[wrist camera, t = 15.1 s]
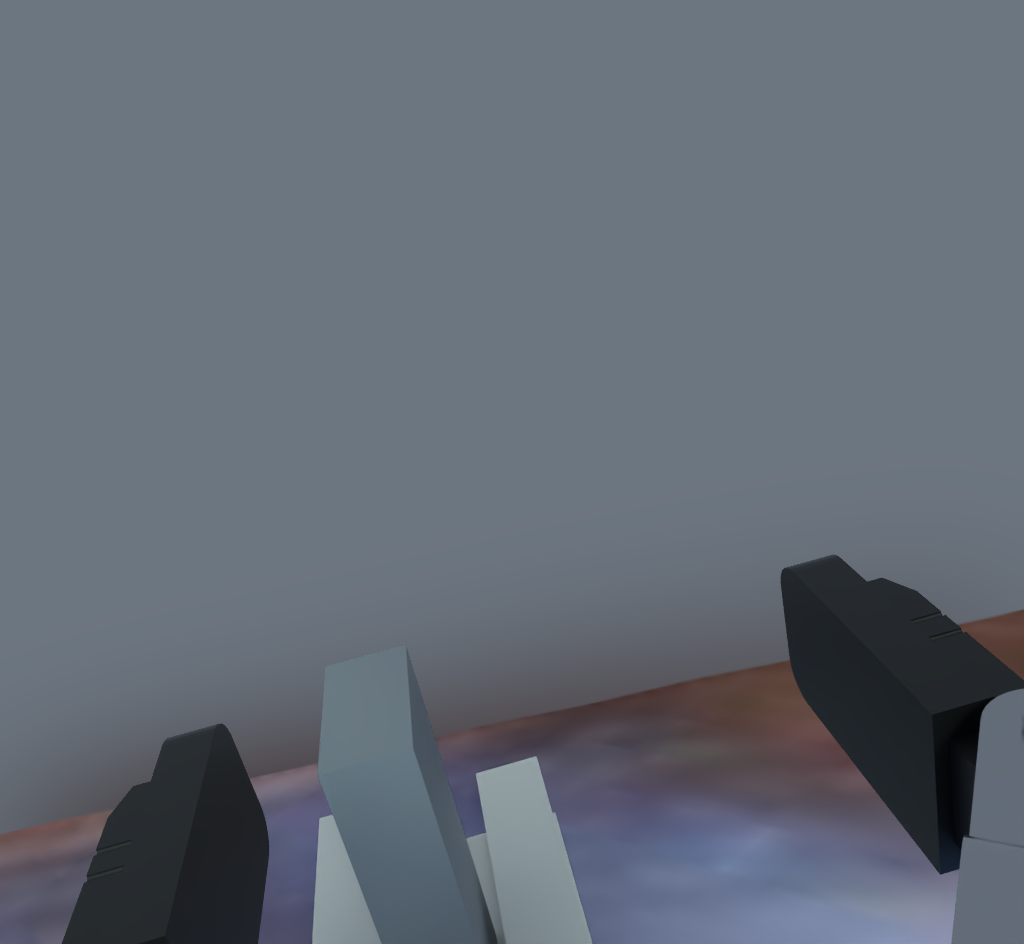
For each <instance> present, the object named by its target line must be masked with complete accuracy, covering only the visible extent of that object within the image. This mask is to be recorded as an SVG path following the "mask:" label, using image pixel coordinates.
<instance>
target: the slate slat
mask: <svg viewBox="0 0 1024 944" xmlns="http://www.w3.org/2000/svg"><path fill="white" fill-rule="evenodd" d="M317 775H318V778H319V780H320V783H321V785H322V788H323V791H324V793H325V796H326V799H327V801H328V804H329V807H330V809H331V812H332V814H333V817H334V820H335V822H336V825H337V828H338V830H339V833H340V835H341V838H342V841H343V843H344V846H345V849H346V851H347V854H348V856H349V859H350V862H351V864H352V867H353V870H354V872H355V875H356V878H357V880H358V883H359V885H360V888H361V891H362V893H363V896H364V899H365V901H366V904H367V906H368V909H369V912H370V914H371V917H372V920H373V922H374V925H375V927H376V930H377V933H378V935H379V938H380V941H381V943H382V944H498V943H497V937H496V933H495V929H494V926H493V923H492V920H491V917H490V913H489V910H488V907H487V904H486V901H485V897H484V894H483V891H482V888H481V885H480V881H479V878H478V875H477V872H476V868H475V865H474V862H473V859H472V856H471V852H470V849H469V846H468V843H467V840H466V836H465V833H464V830H463V827H462V824H461V820H460V817H459V814H458V811H457V808H456V804H455V801H454V798H453V795H452V791H451V788H450V785H449V782H448V779H447V775H446V772H445V769H444V766H443V763H442V759H441V756H440V753H439V750H438V747H437V743H436V740H435V737H434V734H433V731H432V727H431V724H430V721H429V718H428V715H427V711H426V708H425V705H424V702H423V698H422V695H421V692H420V689H419V686H418V682H417V679H416V676H415V673H414V670H413V667H412V663H411V660H410V657H409V654H408V650H407V647H406V645H404V646H400V647H396V648H393V649H389V650H385V651H382V652H378V653H374V654H370V655H367V656H363V657H359V658H356V659H352V660H348V661H345V662H341V663H337V664H334V665H330V666H326V674H325V686H324V699H323V711H322V723H321V736H320V749H319V761H318V774H317Z"/></svg>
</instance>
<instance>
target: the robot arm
mask: <svg viewBox="0 0 1024 944" xmlns="http://www.w3.org/2000/svg"><path fill="white" fill-rule="evenodd" d="M781 590H782V598H783V606H784V613H785V622H786V631H787V638H788V647H789V656H790V662H791V667H792V670H793V674H794V677H795V680H796V682H797V685H798V687H799V689H800V691H801V693H802V695H803V697H804V699H805V700H806V702H807V703H808V705H809V706H810V707H811V708H812V710H813V711H814V712H815V714H816V715H817V716H818V717H819V719H820V720H821V721H822V723H823V724H824V725H825V727H826V728H827V729H828V730H829V732H830V733H831V734H832V736H833V737H834V738H835V739H836V741H837V742H838V743H839V745H840V746H841V747H842V748H843V750H844V751H845V752H846V754H847V755H848V756H849V757H850V759H851V760H852V761H853V763H854V764H855V765H856V766H857V768H858V769H859V770H860V772H861V773H862V774H863V776H864V777H865V778H866V779H867V781H868V782H869V783H870V785H871V786H872V787H873V788H874V790H875V791H876V792H877V794H878V795H879V796H880V797H881V799H882V800H883V801H884V803H885V804H886V805H887V806H888V808H889V809H890V810H891V812H892V813H893V814H894V815H895V817H896V818H897V819H898V821H899V822H900V823H901V824H902V826H903V827H904V828H905V830H906V831H907V832H908V834H909V835H910V836H911V837H912V839H913V840H914V841H915V843H916V844H917V845H918V846H919V848H920V849H921V850H922V852H923V853H924V854H925V855H926V857H927V858H928V859H929V861H930V862H931V863H932V864H933V866H934V867H935V868H936V870H937V871H938V872H939V873H940V875H941V874H944V873H947V872H950V871H954V870H957V869H959V877H958V887H957V896H956V905H955V915H954V924H953V934H952V943H951V944H1024V680H1023V679H1021V678H1020V677H1019V676H1018V675H1017V674H1015V673H1014V672H1013V671H1012V670H1011V669H1009V668H1008V667H1007V666H1006V665H1005V664H1003V663H1002V662H1001V661H1000V660H999V659H997V658H996V657H995V656H994V655H993V654H991V653H990V652H989V651H988V650H987V649H985V648H984V647H983V646H982V645H981V644H979V643H978V642H977V641H976V640H975V639H973V638H972V637H971V636H970V635H969V634H968V633H966V632H964V633H962V631H961V628H960V627H959V626H958V625H957V624H956V623H954V622H953V621H952V620H951V619H949V618H948V617H947V616H946V615H945V616H942V614H941V611H940V610H939V609H937V608H936V607H935V606H934V605H933V604H931V603H930V602H929V601H928V600H927V599H926V598H924V597H923V596H922V595H921V594H920V593H918V592H917V591H915V590H912V589H910V588H907V587H905V586H902V585H900V584H897V583H894V582H892V581H889V580H887V579H884V578H879V579H876V580H872V581H868V582H867V581H866V580H865V579H863V578H862V577H861V576H860V575H859V574H858V573H857V572H856V571H855V570H853V569H852V568H851V567H850V566H849V565H848V564H847V563H846V562H844V561H843V560H842V559H841V558H840V557H839V556H836V555H830V556H827V557H823V558H819V559H816V560H812V561H809V562H805V563H801V564H798V565H794V566H790V567H787V568H784V569H783V570H782V573H781ZM96 850H97V855H95V856H94V857H93V860H92V862H91V865H90V868H89V871H88V873H87V882H84V884H83V887H82V890H81V892H80V895H79V898H78V901H77V903H76V906H75V909H74V912H73V914H72V917H71V920H70V923H69V925H68V928H67V931H66V933H65V936H64V939H63V942H62V944H258V938H259V930H260V922H261V914H262V907H263V899H264V891H265V883H266V875H267V867H268V859H269V839H268V831H267V826H266V821H265V817H264V814H263V811H262V808H261V805H260V803H259V801H258V798H257V796H256V793H255V791H254V789H253V786H252V784H251V781H250V779H249V777H248V774H247V772H246V769H245V767H244V765H243V762H242V760H241V757H240V755H239V753H238V750H237V748H236V746H235V743H234V741H233V738H232V736H231V734H230V732H229V730H228V729H227V728H226V726H225V725H223V724H217V725H213V726H210V727H206V728H202V729H199V730H195V731H192V732H188V733H184V734H181V735H177V736H174V737H170V738H167V739H166V740H165V741H164V743H163V745H162V748H161V751H160V755H159V758H158V761H157V764H156V767H155V770H154V773H153V776H152V780H151V781H150V782H147V783H143V784H140V785H136V786H133V787H132V789H131V790H130V791H129V792H128V793H127V795H126V796H125V797H124V798H123V800H122V801H121V802H120V803H119V805H118V806H117V807H116V808H115V810H114V811H113V812H112V813H111V815H110V816H109V817H108V819H107V821H106V824H105V827H104V830H103V832H102V835H101V838H100V841H99V843H98V846H97V849H96Z"/></svg>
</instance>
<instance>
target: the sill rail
mask: <svg viewBox="0 0 1024 944" xmlns="http://www.w3.org/2000/svg"><path fill="white" fill-rule="evenodd" d="M476 778H477V784H478V789H479V795H480V800H481V806H482V812H483V817H484V823H485V828H486V833H482V834H479V835H475V836H472V837H469V838H466V840H467V843H468V846H469V849H470V852H471V856H472V859H473V862H474V865H475V868H476V872H477V875H478V878H479V881H480V885H481V888H482V891H483V894H484V897H485V901H486V904H487V907H488V910H489V913H490V917H491V920H492V923H493V926H494V929H495V933H496V937H497V943H498V944H593V943H592V940H591V936H590V933H589V929H588V926H587V922H586V919H585V915H584V912H583V908H582V905H581V901H580V897H579V894H578V890H577V887H576V883H575V880H574V876H573V873H572V869H571V866H570V862H569V859H568V855H567V852H566V848H565V845H564V841H563V838H562V834H561V831H560V827H559V824H558V820H557V817H556V813H555V812H554V813H552V810H551V806H550V803H549V799H548V796H547V792H546V789H545V785H544V781H543V778H542V774H541V771H540V767H539V764H538V760H537V756H535V757H532V758H528V759H525V760H521V761H518V762H514V763H511V764H507V765H504V766H500V767H497V768H493V769H490V770H486V771H483V772H479V773H476ZM312 944H382V943H381V941H380V938H379V935H378V933H377V930H376V927H375V925H374V922H373V920H372V917H371V914H370V912H369V909H368V906H367V904H366V901H365V899H364V896H363V893H362V891H361V888H360V885H359V883H358V880H357V878H356V875H355V872H354V870H353V867H352V864H351V862H350V859H349V856H348V854H347V851H346V849H345V846H344V843H343V841H342V838H341V835H340V833H339V830H338V828H337V825H336V822H335V820H334V817H333V815H329V816H326V817H322V818H320V819H319V836H318V853H317V869H316V886H315V903H314V920H313V937H312Z"/></svg>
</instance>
